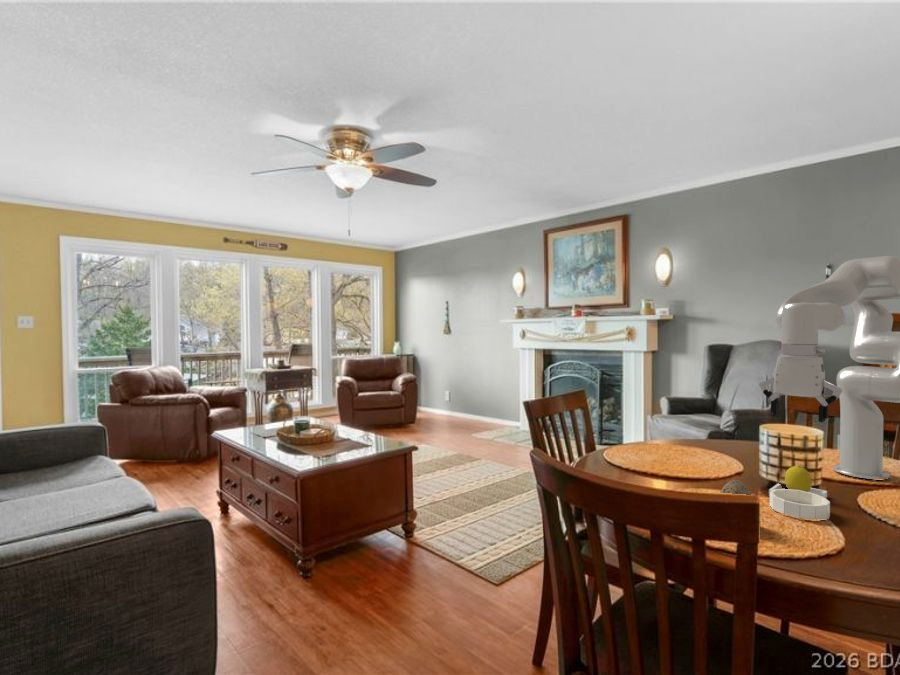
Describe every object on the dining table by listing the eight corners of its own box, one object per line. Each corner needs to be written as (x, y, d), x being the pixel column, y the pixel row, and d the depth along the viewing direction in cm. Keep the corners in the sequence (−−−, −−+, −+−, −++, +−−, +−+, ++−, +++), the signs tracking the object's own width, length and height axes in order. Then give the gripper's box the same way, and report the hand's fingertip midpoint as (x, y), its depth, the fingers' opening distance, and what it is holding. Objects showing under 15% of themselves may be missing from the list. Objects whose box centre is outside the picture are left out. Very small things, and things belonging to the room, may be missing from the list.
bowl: (778, 499, 119) (778, 485, 119) (833, 512, 111) (834, 497, 111) (764, 510, 112) (764, 496, 112) (822, 525, 104) (822, 509, 103)
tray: (780, 487, 128) (780, 481, 128) (827, 496, 121) (827, 491, 121) (768, 495, 122) (768, 489, 122) (817, 506, 114) (817, 500, 114)
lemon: (816, 500, 118) (816, 469, 118) (791, 499, 119) (791, 467, 119) (804, 493, 124) (804, 462, 123) (780, 491, 125) (780, 461, 124)
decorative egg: (713, 525, 104) (713, 479, 104) (722, 515, 109) (722, 472, 109) (750, 534, 99) (751, 487, 99) (758, 524, 104) (759, 479, 104)
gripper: (846, 352, 116) (845, 421, 117) (764, 349, 130) (764, 412, 130) (839, 353, 112) (838, 425, 112) (755, 350, 125) (754, 415, 125)
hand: (798, 418), depth 121 cm, fingers open, 9 cm apart
